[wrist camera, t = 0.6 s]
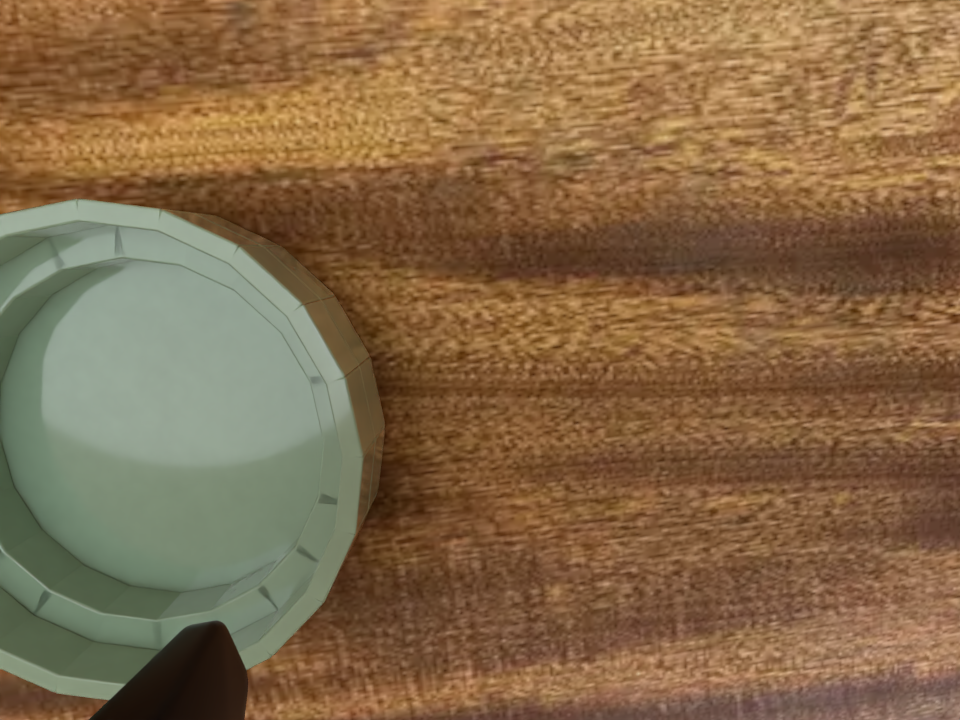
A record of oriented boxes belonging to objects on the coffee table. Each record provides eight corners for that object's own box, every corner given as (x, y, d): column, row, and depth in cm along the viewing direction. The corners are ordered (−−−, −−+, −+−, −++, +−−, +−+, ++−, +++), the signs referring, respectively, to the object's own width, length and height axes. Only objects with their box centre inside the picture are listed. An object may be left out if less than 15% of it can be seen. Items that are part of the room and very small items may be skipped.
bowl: (286, 689, 27) (243, 777, 22) (-89, 521, 26) (-211, 576, 22) (455, 324, 25) (445, 341, 20) (51, 135, 24) (-51, 109, 20)
